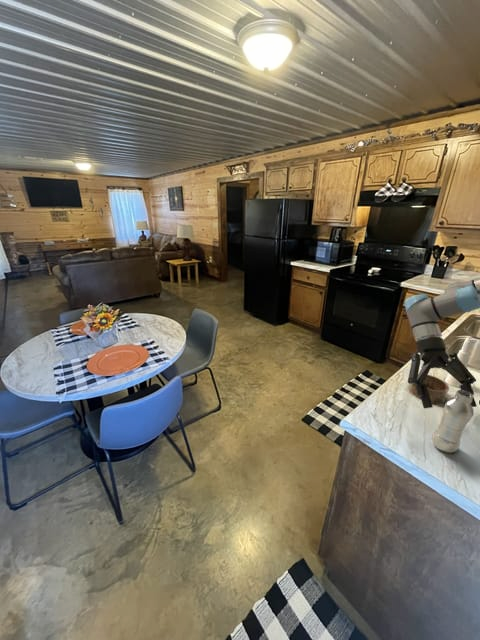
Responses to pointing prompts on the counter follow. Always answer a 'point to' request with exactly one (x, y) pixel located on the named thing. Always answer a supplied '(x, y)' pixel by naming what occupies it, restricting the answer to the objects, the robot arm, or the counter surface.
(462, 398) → the plastic bottle
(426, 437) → the counter surface
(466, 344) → the cosmetic bottle
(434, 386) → the holder
